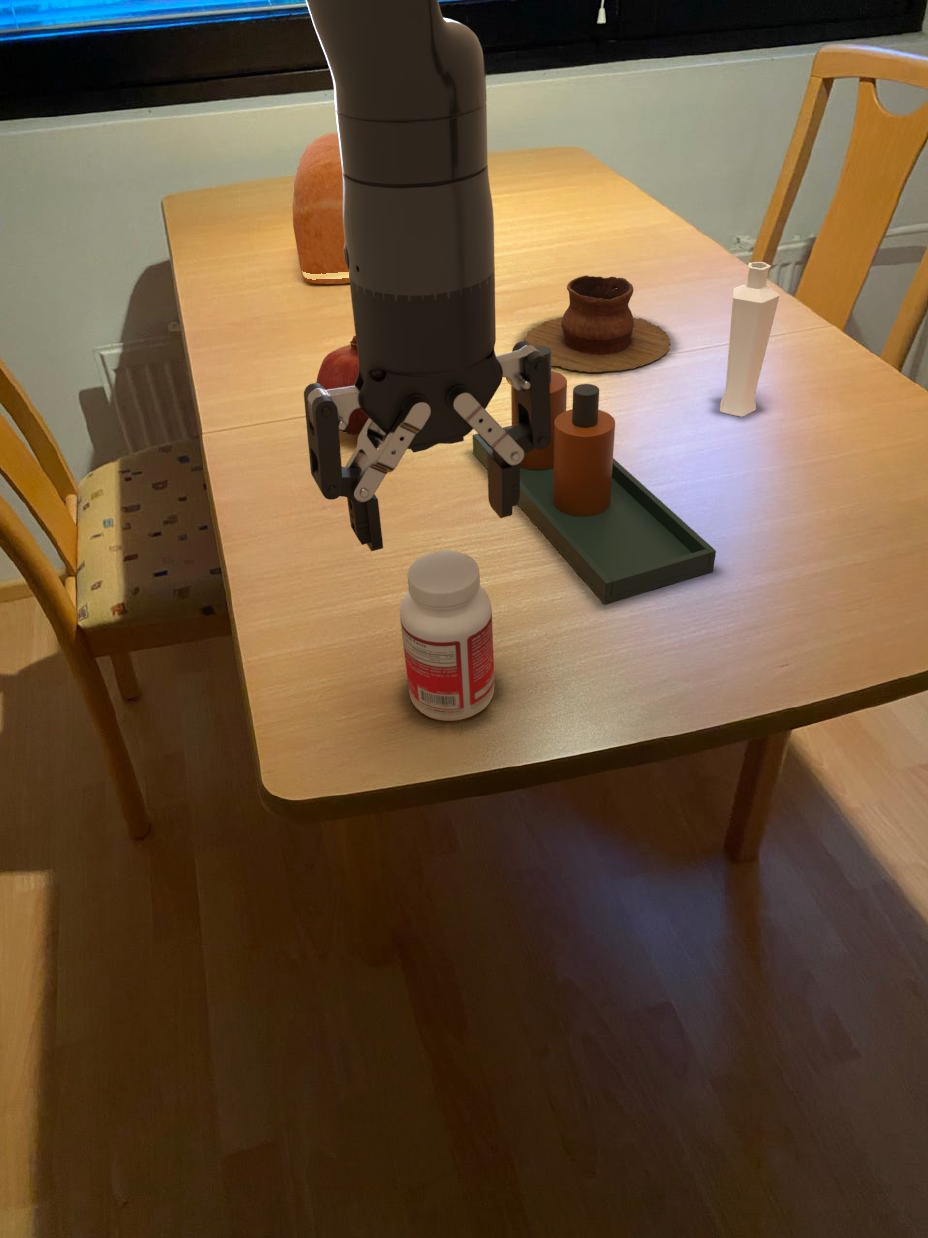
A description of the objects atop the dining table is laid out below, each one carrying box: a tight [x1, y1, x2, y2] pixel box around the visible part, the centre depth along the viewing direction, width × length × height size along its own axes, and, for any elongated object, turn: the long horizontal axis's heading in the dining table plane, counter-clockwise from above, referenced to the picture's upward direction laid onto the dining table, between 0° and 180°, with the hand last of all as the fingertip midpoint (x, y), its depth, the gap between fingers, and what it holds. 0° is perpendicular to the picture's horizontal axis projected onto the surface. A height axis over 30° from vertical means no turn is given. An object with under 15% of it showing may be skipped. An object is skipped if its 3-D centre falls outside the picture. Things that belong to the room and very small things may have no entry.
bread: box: [292, 132, 350, 285], centre depth 138 cm, size 14×26×16 cm, turn 4°
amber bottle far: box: [510, 346, 568, 470], centre depth 88 cm, size 5×5×11 cm
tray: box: [472, 425, 717, 605], centre depth 85 cm, size 10×27×2 cm, turn 22°
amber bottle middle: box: [553, 383, 616, 516], centre depth 82 cm, size 5×5×11 cm
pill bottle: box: [399, 549, 496, 722], centre depth 63 cm, size 6×6×11 cm
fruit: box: [315, 335, 369, 436], centre depth 95 cm, size 11×10×10 cm
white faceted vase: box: [719, 261, 781, 418], centre depth 94 cm, size 5×4×15 cm
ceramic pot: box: [523, 275, 671, 373], centre depth 111 cm, size 18×18×7 cm
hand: (438, 526), depth 58 cm, fingers open, 8 cm apart
